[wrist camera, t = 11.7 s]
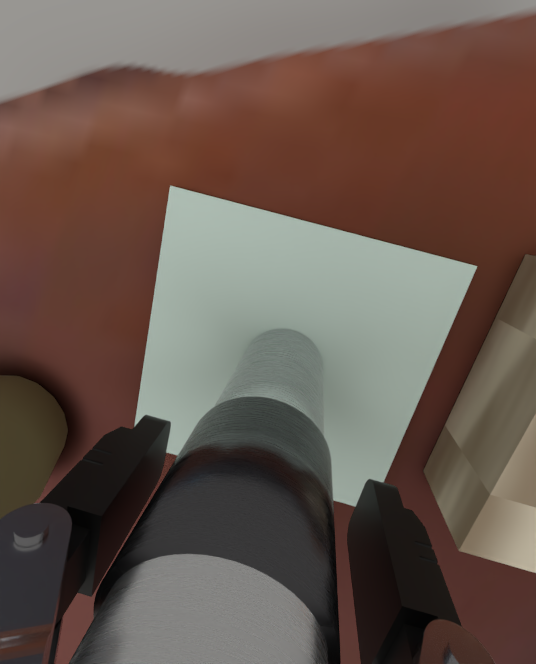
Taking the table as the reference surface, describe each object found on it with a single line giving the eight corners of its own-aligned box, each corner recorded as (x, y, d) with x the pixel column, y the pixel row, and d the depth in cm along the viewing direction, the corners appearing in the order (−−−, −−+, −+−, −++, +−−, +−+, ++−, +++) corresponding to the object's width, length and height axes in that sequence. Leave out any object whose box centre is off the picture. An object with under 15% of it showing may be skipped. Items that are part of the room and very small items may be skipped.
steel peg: (338, 338, 17) (466, 1172, 2) (312, 416, 19) (281, 1249, 4) (250, 313, 18) (-190, 911, 2) (231, 392, 19) (-121, 1079, 4)
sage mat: (471, 264, 16) (477, 266, 16) (369, 502, 21) (370, 511, 20) (175, 186, 17) (170, 185, 16) (136, 436, 21) (131, 442, 21)
